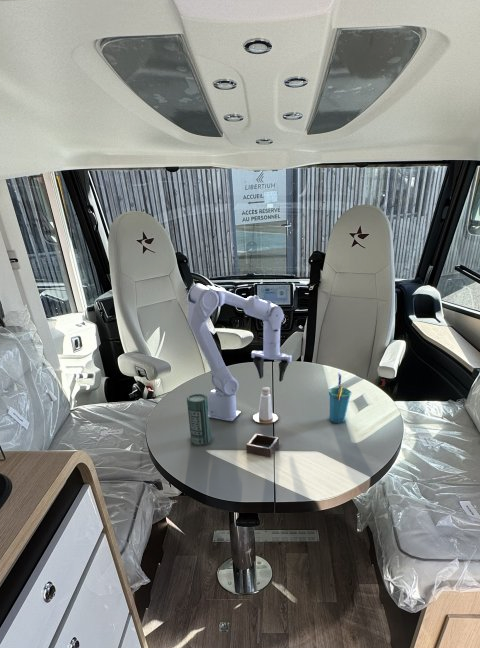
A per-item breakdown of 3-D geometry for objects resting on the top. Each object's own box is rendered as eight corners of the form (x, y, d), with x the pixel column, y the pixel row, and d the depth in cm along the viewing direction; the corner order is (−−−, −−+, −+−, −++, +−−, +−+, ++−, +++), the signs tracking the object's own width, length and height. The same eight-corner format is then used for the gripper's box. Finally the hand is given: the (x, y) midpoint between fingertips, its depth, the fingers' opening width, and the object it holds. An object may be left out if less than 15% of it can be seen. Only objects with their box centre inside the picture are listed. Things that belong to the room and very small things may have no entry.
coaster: (249, 421, 156) (249, 420, 156) (258, 411, 163) (258, 410, 163) (273, 425, 153) (273, 424, 153) (281, 415, 160) (281, 414, 160)
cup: (324, 410, 164) (327, 370, 155) (345, 410, 164) (349, 371, 155) (327, 427, 152) (332, 386, 144) (350, 427, 152) (355, 386, 143)
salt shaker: (255, 415, 159) (255, 386, 153) (269, 413, 161) (269, 384, 154) (261, 421, 155) (261, 392, 149) (275, 419, 157) (276, 389, 150)
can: (213, 437, 146) (210, 395, 137) (205, 446, 142) (201, 402, 133) (196, 434, 148) (192, 392, 139) (188, 443, 143) (183, 400, 134)
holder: (246, 453, 138) (246, 444, 137) (255, 441, 144) (255, 433, 143) (270, 457, 136) (270, 449, 134) (278, 445, 142) (279, 437, 140)
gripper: (295, 340, 154) (293, 377, 162) (256, 335, 158) (256, 372, 166) (288, 346, 148) (287, 384, 156) (249, 341, 153) (249, 379, 161)
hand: (271, 379), depth 161 cm, fingers open, 7 cm apart
